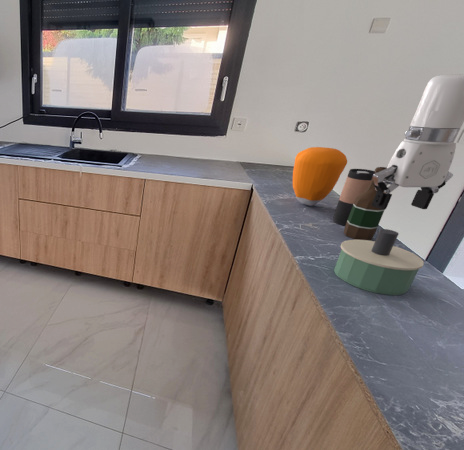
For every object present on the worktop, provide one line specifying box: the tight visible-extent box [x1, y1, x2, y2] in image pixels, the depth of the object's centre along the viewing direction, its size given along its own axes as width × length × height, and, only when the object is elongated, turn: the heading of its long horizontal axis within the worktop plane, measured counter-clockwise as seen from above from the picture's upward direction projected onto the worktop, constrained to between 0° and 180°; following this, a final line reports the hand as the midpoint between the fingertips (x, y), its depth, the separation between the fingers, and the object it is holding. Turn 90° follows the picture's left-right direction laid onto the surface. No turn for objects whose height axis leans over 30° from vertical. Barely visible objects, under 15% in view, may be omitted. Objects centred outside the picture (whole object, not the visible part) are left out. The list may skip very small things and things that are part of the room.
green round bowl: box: [333, 249, 420, 296], centre depth 82 cm, size 15×15×8 cm
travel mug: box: [332, 168, 375, 227], centre depth 114 cm, size 8×8×20 cm
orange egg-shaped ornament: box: [292, 146, 348, 207], centre depth 132 cm, size 17×17×25 cm
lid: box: [340, 228, 425, 270], centre depth 80 cm, size 16×16×7 cm
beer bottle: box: [343, 166, 387, 241], centre depth 103 cm, size 8×8×24 cm
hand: (398, 207), depth 76 cm, fingers open, 9 cm apart
